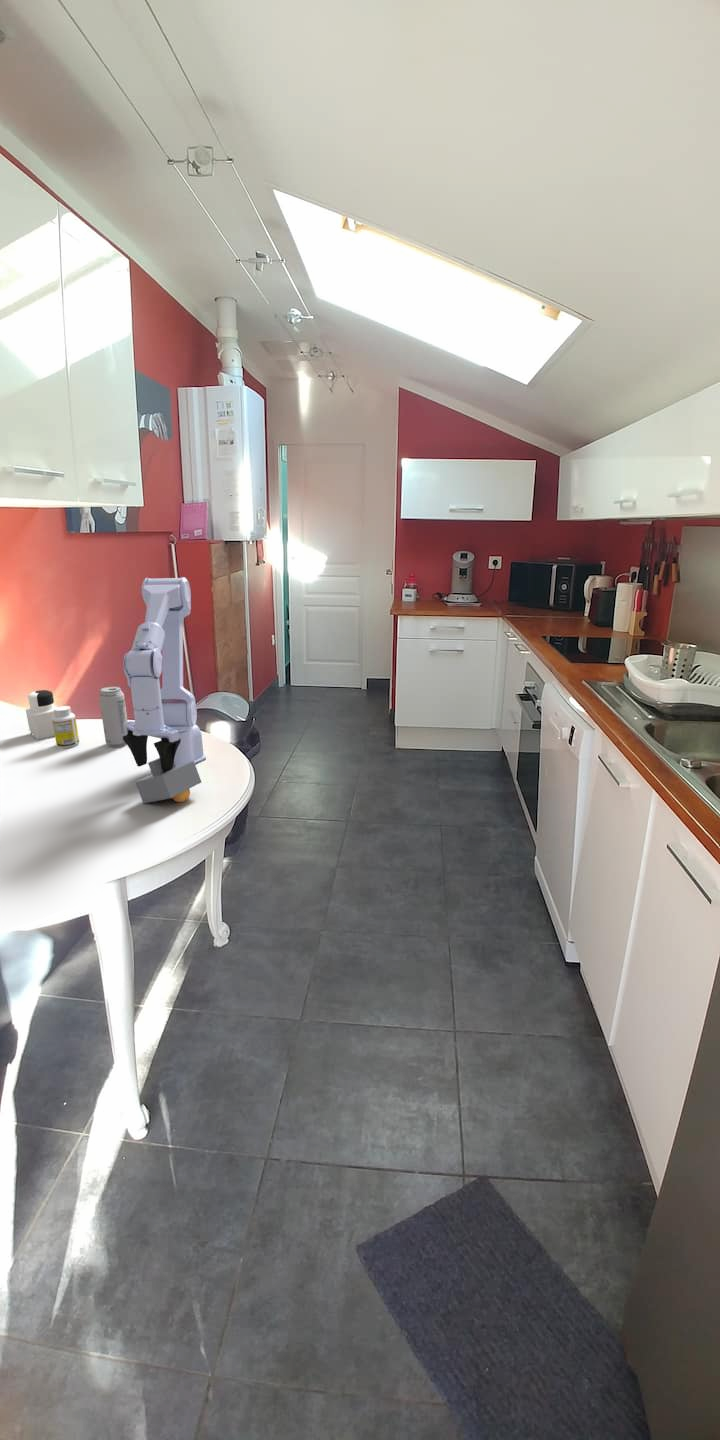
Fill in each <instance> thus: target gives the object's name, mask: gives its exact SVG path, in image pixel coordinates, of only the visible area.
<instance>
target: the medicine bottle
mask: <svg viewBox="0 0 720 1440" xmlns="http://www.w3.org/2000/svg"><path fill="white" fill-rule="evenodd" d="M27 697H28V704H29V708H26V710H25V713H26V714H25V715H26V719H27V723H28V729H29V730H28V731H29V732H30V731H31V733H32V734H33V735H32V734H31V733H30V734H31V735H32V737H34V738H35V739H36V740H37V739H39V740H43V739H48V738H52V737H55V733H54V728H53V722H52V717H53V716H54V715H55V714H54V708H56V707H57V706H56V705H55V700H54V699H55V698H54V695H53V692H52V691H50V690H48V689H43V690H42V689H41V690H35V691H32V692H30V693H29V694H28V696H27Z"/></svg>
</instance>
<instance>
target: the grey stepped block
mask: <svg viewBox="0 0 720 1440" xmlns="http://www.w3.org/2000/svg"><path fill="white" fill-rule="evenodd" d="M147 764H148V767H149V770H150V771H151V774H149V775H147V776H144V777H143V778H141V779H139V780H136V781H134V782H135V785H136V788H137V791H138V793H139V795H140V796H139V797H140V798H141V801H142V804H148V803H151V802H152V803H154V802H158V801H163V800H167V799H168V800H169V799H173V798H172V797H174V796H176V795H178V794H180V793H182V792H184V791H186V790H188V789H191V788H193V787H195V786H198V785H200V784H201V783H202V780H201V776H200V773H199V772H198V770H197V769H198V768H197V766H196V763H194V761H192V762H188V763H183V764H179V765H175V763H173V769H171V770H169V771H167V772H163V771H162V767H161V761H160V757H158V758H156V759H153V760H151V761H149V762H147Z"/></svg>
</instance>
